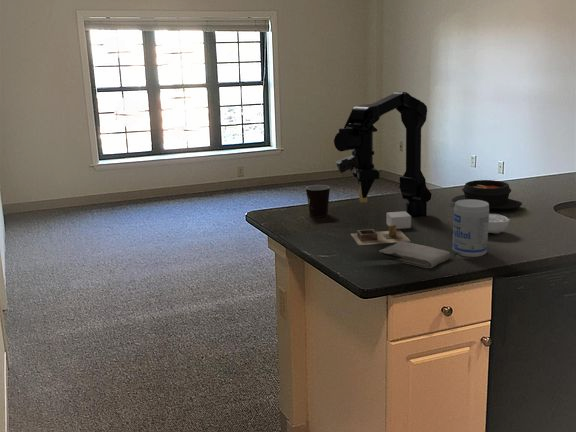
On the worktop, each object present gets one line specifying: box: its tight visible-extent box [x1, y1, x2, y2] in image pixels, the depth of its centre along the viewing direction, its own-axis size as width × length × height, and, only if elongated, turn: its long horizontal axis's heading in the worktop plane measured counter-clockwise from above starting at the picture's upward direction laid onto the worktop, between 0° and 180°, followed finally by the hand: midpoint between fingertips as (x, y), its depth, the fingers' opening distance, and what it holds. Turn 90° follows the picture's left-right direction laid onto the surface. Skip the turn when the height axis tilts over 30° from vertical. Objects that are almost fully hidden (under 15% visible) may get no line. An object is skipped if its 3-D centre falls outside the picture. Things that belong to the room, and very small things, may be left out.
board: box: [350, 225, 411, 246], centre depth 196 cm, size 16×12×5 cm
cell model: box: [488, 213, 511, 235], centre depth 199 cm, size 10×12×7 cm
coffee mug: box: [305, 184, 331, 218], centre depth 231 cm, size 12×9×10 cm
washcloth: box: [379, 241, 452, 269], centre depth 180 cm, size 12×18×3 cm, turn 47°
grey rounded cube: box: [385, 210, 412, 230], centre depth 207 cm, size 6×6×5 cm
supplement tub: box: [451, 199, 490, 258], centre depth 180 cm, size 10×10×15 cm
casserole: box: [451, 179, 523, 211], centre depth 230 cm, size 25×19×8 cm
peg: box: [358, 181, 368, 203], centre depth 200 cm, size 2×2×7 cm
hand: (363, 196), depth 200 cm, fingers closed on peg, 2 cm apart
